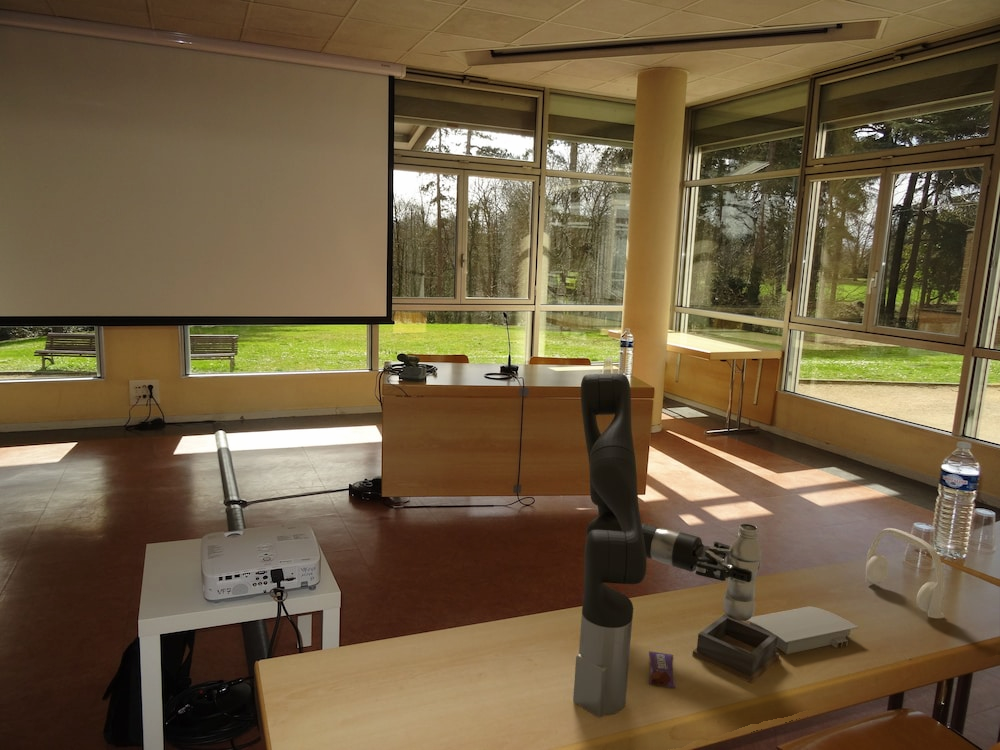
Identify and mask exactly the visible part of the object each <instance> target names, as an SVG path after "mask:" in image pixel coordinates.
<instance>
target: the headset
mask: <svg viewBox="0 0 1000 750" xmlns="http://www.w3.org/2000/svg"><path fill="white" fill-rule="evenodd" d="M887 533H889V534H890V536H892V537H893V538H895V539H898V540H901V541H903V542H905V543H908V544H909V545H912V546H914V547H916V548H917V549H920V550H927V551H928V553H929V554H930V556H931V557H932V560H933V564H934V567H935V574H936V582H935V581H927V582H926V583H924V584H923V585H922V586H921V587H920V588H919V590H918V592H917V595H916V605H917V606H918V608H919V609H921V611H924V612H927V616H928V617H929V618H932V619H945V614H944V613H942V612H941V604H942V601H943V599H944V598H943V596H944V594H945V590H946V589H945V588H946V583H945V579H944V578H945V577H944V570H943V565H942V561H941V558H940V555H939V553H938V552H937V551H936V549H935V548H934V547H933V546H932V545H931V544H930V543H928V542H927V541H926V540H924V539H922V538H920V537H918V536H916V535H913V534H910V532H906V531H904V530H900V529H898V528H894V527H887V528H884V529H882V530H881V531H879V532H878V533H877V534H876V536H875V537H874V539H873V540H872V543H871V546H870V548H869V550H868V551H867V555H866V566H865V579H864V580H865V582H866V583H867V584H869V585H875V584H881V583H882V582H884V581H885V580H886V578H887V577H888V575H889V572H890V565H889V562H888V560H887V558H886V557H885V556H883V555H881V554H878V553H879V552H878V550H877V548H878V547H879V543H880V541H881V540H882V538H883V537H884V536H885V535H886V534H887Z"/></svg>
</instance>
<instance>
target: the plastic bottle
mask: <svg viewBox="0 0 1000 750" xmlns="http://www.w3.org/2000/svg"><path fill="white" fill-rule="evenodd" d="M738 527H739V528H738V530H737V531H738V532H737V535H738V536H737V537H736V538H735V539H734V540H733V542H732V543H731V544H730V545H729V546H730V549H729V558H730V565H731V566H732V568H733V567H738V568H742V569H745V570H749V571H751V572H752V579H751V581H750V582H745V581H742V580H738V579H735V578H732V577H731V578H730V579H728V582H727V587H726V591H725V593H724V596H723V600H722V609H723V611H724V614H726V615H727V616H728V617H730V618H732V619H735V620H739V621H743V622H747V621H746V620H749V619H750V618H751V617H754V614H755V611H756V598H755V593H756V591H755V590H756V589H755V588H756V579H757V575H758V570H759V569H758V567H759V568H760V566H759V563H760V564H761V560H762V556H763V555H762V554H763V552H762V548H761V546H760V545H759V542H758V541H757V538H758V532H759V530H758V526H756V525H754V524H752V523H751V524H750V523H740V524H739V526H738Z"/></svg>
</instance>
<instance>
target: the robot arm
mask: <svg viewBox="0 0 1000 750" xmlns="http://www.w3.org/2000/svg"><path fill="white" fill-rule="evenodd" d="M580 382H581V383H580V405H581V413H582V415H581V416H582V424H583V431H584V437H585V438H584V439H585V444H586V450H587V457H588V465H589V467H588V468H589V470H588V471H589V491H590V492H589V493H590V494H589V495H590V501H591V502H592V503H593V504H594V505H596V506H597V509H598V510H597V511H598V516H596V517H595V518H594V519H592V520H591V521H590V522H589V523H588V525H587V527H586V530H585V531H586V539H585V544H584V578H583V580H584V581H583V594H582V595H583V596H582V607H581V620H580V636H579V649H578V654H577V655H576V657H575V671H574V685H573V695H572V696H573V697H572V698H573V700H572V702H573V703H574V704H577V705H578V706H580V707H581V708H583V709H584V710H587V711H588V712H590V713H592V714H593V715H595V716H596V717H599V718H601V717H602V716H604V715H605V716H606V715H613V714H616V713H619V712H620V711H621V710H623V709H624V707H625V706H626V700H627V688H628V675H629V665H630V652H631V651H630V650H631V641H632V630H633V629H632V627H633V618H634V604H633V602H632V600H631V599H630V598H629V597H628V596H627V595H625V594H624V593H622V592H620V591H618V590H615V589H614V588H612V587H610V586H608V585H607V584H621V585H638V584H640V583H641V582H643V580H644V579H645V576H646V573H647V558H648V559H651V560H654V561H657V562H659V563H661V564H664V565H668V566H671V567H675V568H677V569H680V570H684V571H688V572H695V575H697V576H701V577H705V578H710V579H714V580H717V581H723V582H725V581H726V580H727V579H728V580H729V579H730V578H731V577H732V578H735V579H738V580H742V581H745V582H750V581H751V579H752V572H751V571H749V570H745V569H742V568H738V567H733V568H732V566H731V565H730V558H729V549H730V546H731V545H728V544H725V543H722V542H718V541H714V542H713V546H709V545H704V544H703V541H702V538H701V537H700V536H697V535H693V534H689V533H685V532H681V531H679V530H675V529H670V528H663V527H658V526H654V525H651V524H647V523H642V519H641V513H640V507H639V498H638V497H639V496H638V495H639V494H638V476H637V464H636V463H637V462H636V454H635V448H634V439H633V430H632V392H631V385H630V381H629V378H628V377H627V376H626V375H625V374H623V373H591V374H586V375H584V376H583V377H582V379H581V381H580ZM609 415H611V416H613V415H614V417H613V419H612V421H611V422H610V424H609V425H608V426H607V428H606V429H604V431H603V432H602V433H601V431H600V428H599V427H598V423H597V416H609ZM760 564H761V562H760V563H759V567H758V570H759V569H760V566H761V565H760ZM605 583H606V584H605Z"/></svg>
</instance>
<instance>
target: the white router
mask: <svg viewBox="0 0 1000 750" xmlns="http://www.w3.org/2000/svg"><path fill="white" fill-rule="evenodd" d="M745 622H746V623H749V624H750V625H752V626H755V627H757V628H760V629H762V630H764V631H767V632H769V633H772V634H774V635H776V636H778V639H777V647H776V648H778V649H779V650H780V651H782V652H784V654H786V655H790V654H793V653H798V652H804V651H807V650H812V649H816V648H820V647H827V646H833V647H834V648H837V649H838V647H839V644H840V643H841V644H840V648H842V647H843V643H844V642H846V644H845V645H846V647H847V646H848V643H849V640H848V639H846V637H848V636H850V635H851V630H854V629H859V626H858V625H856V624H854V623H852V622H851V621H849V620H847V619H845V618H843V617H841V616H839V615H838V614H835V613H833V612H831V611H828V610H826V609H823V608H819V607H815V606H809V605H808V606H804V607H799V608H794V609H788V610H783V611H777V612H772V613H766V614H761V615H755V616H752V617H751V618H750V619H749V620H746V621H745Z"/></svg>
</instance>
